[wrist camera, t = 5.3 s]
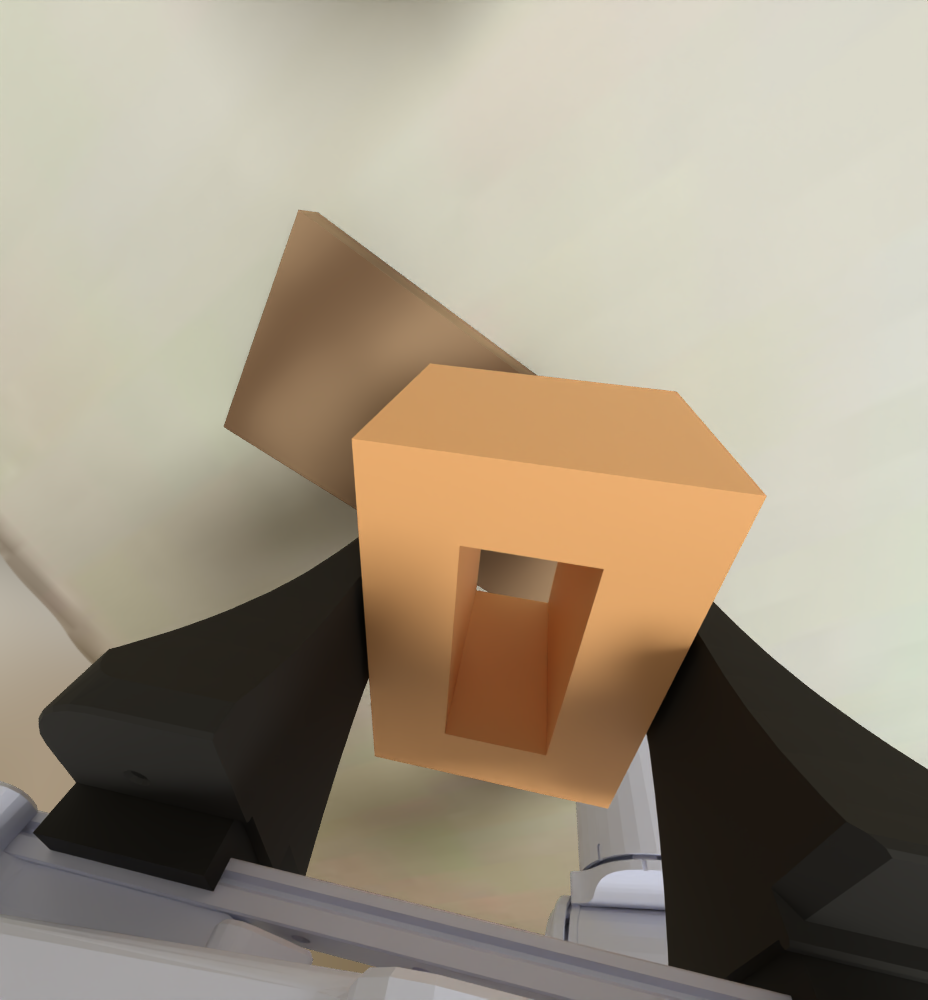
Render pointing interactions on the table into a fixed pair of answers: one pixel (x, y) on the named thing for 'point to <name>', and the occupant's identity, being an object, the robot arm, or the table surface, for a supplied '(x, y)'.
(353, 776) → the table surface
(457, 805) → the table surface
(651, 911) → the robot arm
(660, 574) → the collar
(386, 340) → the brown piece
